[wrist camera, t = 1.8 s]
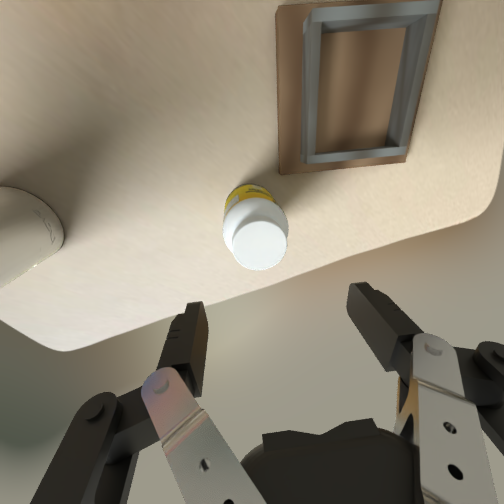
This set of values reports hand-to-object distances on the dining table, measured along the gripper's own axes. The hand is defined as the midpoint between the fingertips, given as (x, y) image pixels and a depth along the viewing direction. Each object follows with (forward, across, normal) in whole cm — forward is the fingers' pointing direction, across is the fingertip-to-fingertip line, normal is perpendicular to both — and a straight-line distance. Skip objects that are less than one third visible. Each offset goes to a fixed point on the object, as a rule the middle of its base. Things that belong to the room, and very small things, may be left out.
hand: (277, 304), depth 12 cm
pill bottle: (+19, 0, 0) cm, 19 cm away
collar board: (+19, -11, -11) cm, 25 cm away
